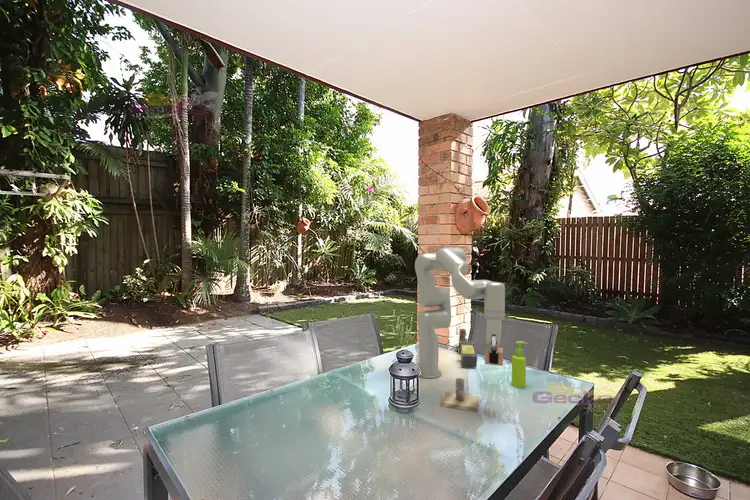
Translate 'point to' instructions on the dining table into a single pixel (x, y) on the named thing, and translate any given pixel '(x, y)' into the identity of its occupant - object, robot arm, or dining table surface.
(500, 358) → the peach cube
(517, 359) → the soap dispenser
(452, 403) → the board
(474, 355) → the grey and yellow block
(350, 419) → the dining table surface
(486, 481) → the dining table surface
